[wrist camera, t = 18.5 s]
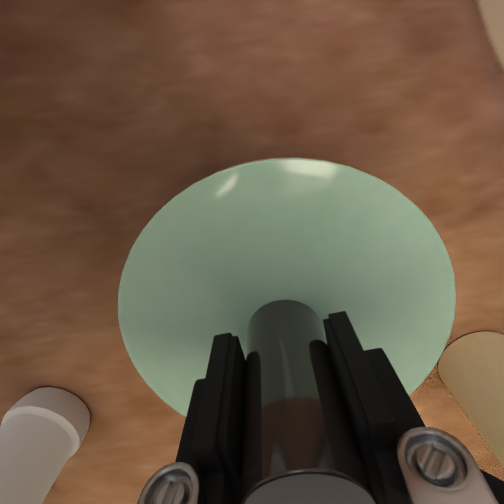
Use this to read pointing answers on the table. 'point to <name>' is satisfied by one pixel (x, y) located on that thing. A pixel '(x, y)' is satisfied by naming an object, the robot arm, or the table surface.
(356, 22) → the table surface
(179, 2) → the table surface
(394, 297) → the lid
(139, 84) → the table surface
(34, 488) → the bottle
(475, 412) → the spice bottle
